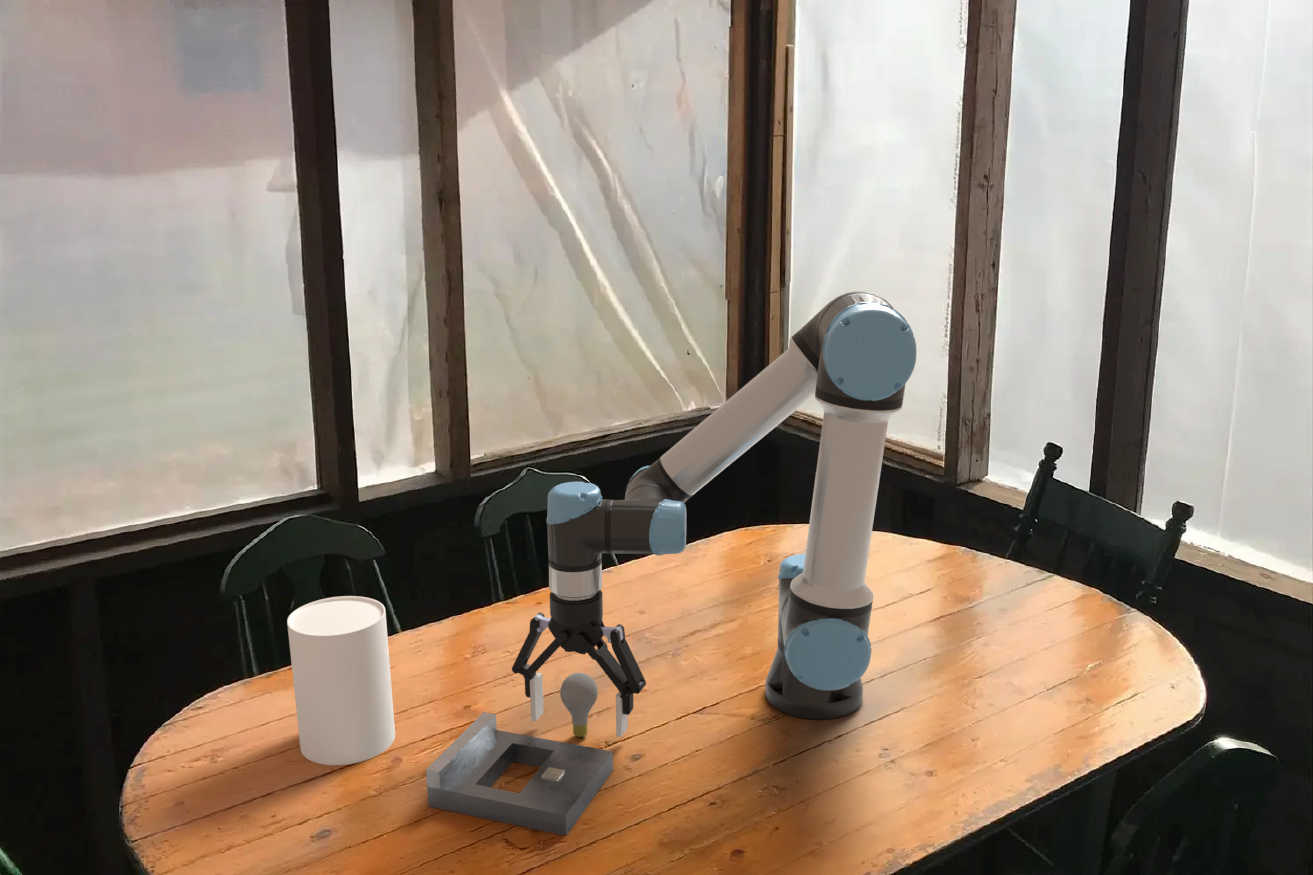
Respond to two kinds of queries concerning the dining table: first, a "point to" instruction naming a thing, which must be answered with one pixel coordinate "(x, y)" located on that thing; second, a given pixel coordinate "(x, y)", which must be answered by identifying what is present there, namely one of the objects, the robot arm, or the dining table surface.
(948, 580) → the dining table surface
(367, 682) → the canister
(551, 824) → the rail plate
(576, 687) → the light bulb
